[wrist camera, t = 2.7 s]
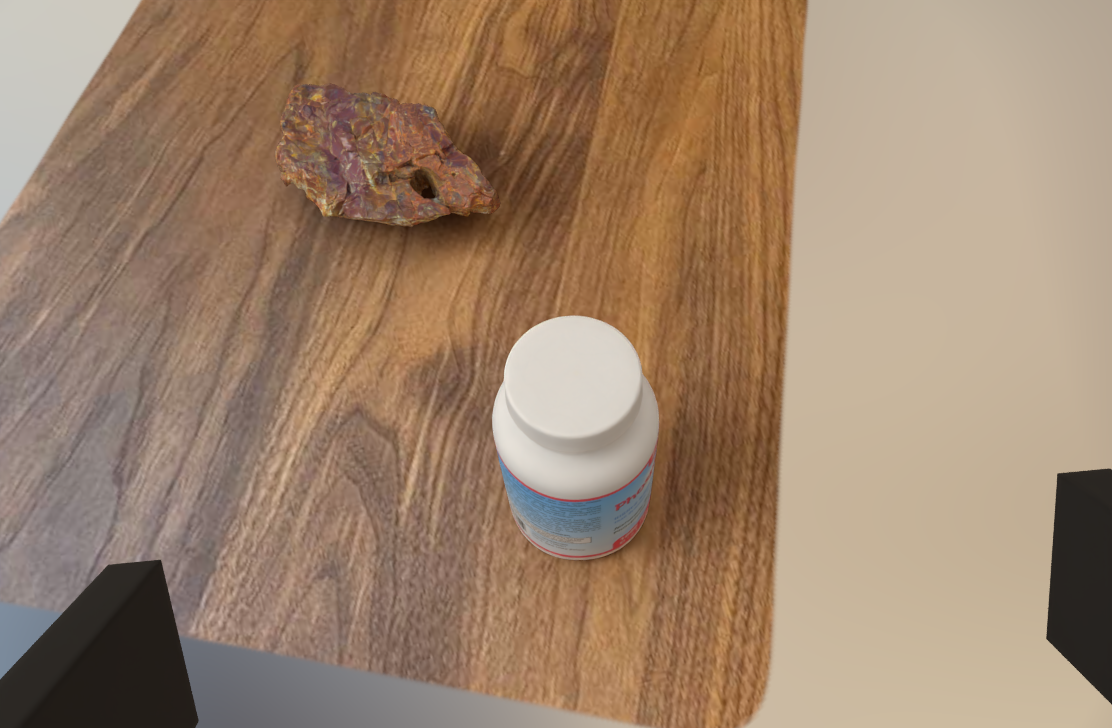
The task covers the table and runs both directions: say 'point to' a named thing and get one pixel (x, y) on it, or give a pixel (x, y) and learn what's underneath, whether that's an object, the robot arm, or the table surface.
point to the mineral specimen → (376, 158)
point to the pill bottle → (576, 437)
